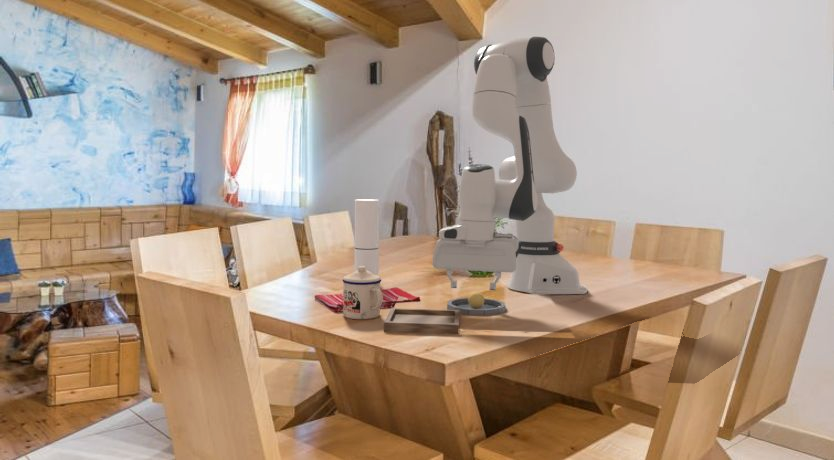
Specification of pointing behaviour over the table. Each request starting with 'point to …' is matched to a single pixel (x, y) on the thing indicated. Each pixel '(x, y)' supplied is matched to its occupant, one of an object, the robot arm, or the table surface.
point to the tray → (422, 321)
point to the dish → (487, 309)
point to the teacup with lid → (362, 295)
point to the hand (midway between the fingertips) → (473, 288)
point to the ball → (476, 300)
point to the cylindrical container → (366, 235)
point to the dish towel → (389, 301)
